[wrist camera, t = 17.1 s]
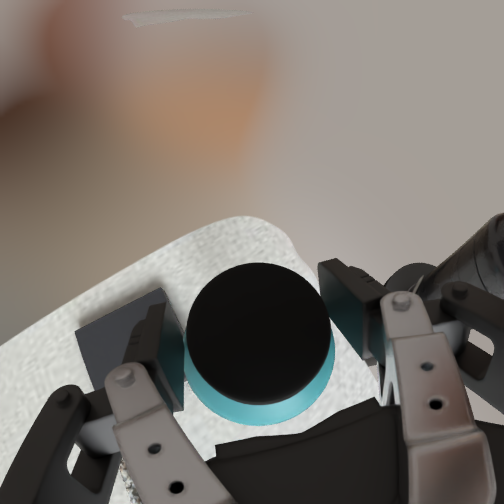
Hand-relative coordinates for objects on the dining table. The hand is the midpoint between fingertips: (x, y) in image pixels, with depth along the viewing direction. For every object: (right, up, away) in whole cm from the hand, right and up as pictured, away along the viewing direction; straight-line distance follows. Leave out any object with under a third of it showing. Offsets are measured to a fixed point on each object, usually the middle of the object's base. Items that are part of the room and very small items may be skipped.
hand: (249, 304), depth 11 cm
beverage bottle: (+1, -9, +14) cm, 17 cm away
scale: (-16, -12, +25) cm, 32 cm away
